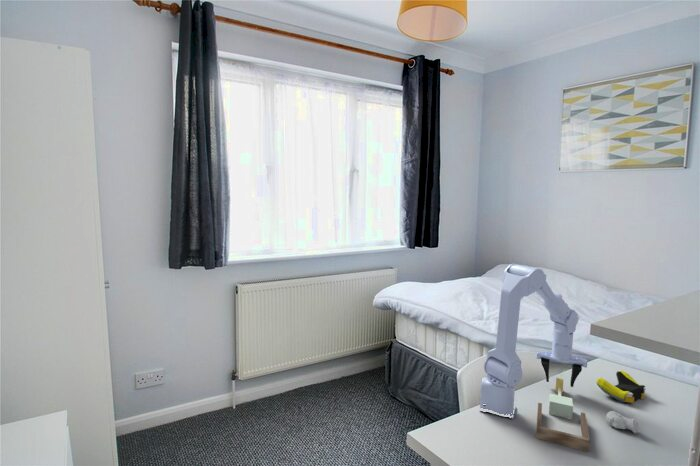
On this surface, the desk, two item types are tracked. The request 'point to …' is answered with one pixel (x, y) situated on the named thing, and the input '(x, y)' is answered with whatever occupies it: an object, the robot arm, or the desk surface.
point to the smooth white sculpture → (622, 422)
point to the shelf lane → (564, 434)
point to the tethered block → (560, 402)
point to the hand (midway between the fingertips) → (559, 383)
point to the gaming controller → (623, 388)
